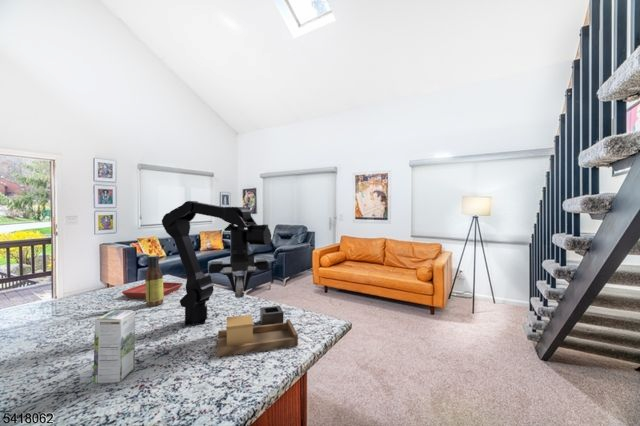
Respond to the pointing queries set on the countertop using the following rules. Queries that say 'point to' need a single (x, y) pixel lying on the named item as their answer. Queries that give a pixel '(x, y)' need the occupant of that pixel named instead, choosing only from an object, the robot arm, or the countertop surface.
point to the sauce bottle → (154, 282)
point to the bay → (260, 339)
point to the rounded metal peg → (239, 285)
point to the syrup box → (114, 346)
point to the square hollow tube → (271, 315)
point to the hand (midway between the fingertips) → (239, 291)
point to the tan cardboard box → (239, 330)
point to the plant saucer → (141, 290)
